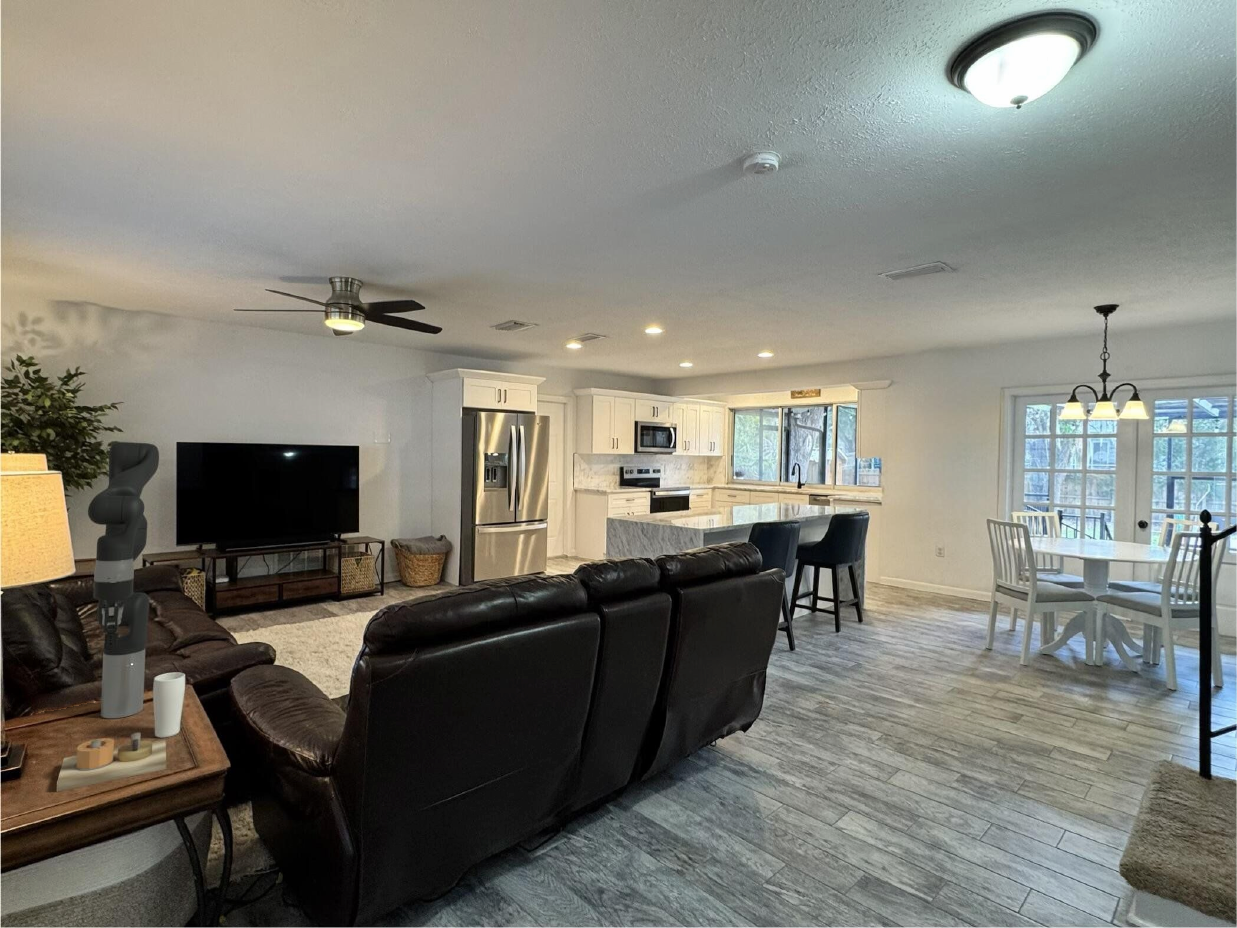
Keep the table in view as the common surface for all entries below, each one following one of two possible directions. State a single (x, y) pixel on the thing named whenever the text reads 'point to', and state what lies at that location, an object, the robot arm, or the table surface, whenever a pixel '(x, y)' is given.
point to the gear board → (115, 764)
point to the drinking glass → (168, 703)
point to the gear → (95, 754)
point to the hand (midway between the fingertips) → (111, 644)
